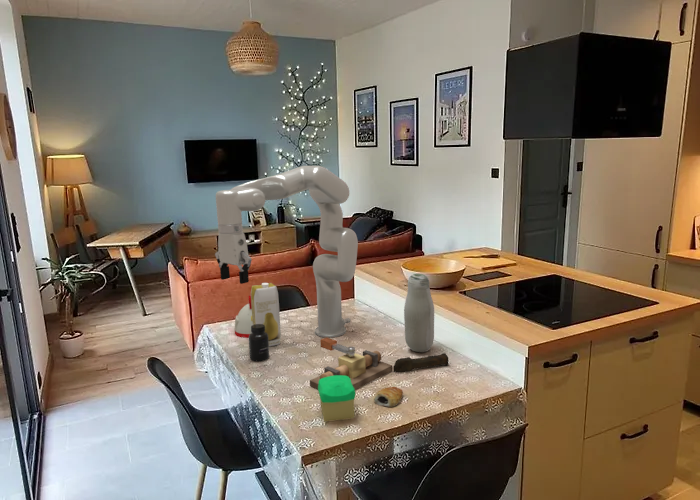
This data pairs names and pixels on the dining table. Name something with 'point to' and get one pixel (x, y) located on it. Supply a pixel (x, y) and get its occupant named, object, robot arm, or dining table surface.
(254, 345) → the supplement bottle
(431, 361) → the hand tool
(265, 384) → the dining table surface
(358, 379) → the pipe board
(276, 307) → the juice carton
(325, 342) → the valve lever
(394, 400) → the pastry
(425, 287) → the grey bottle
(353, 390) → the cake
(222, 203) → the robot arm
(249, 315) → the white and red dome
